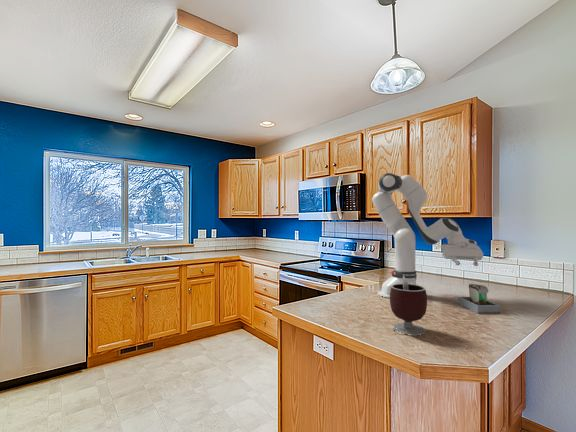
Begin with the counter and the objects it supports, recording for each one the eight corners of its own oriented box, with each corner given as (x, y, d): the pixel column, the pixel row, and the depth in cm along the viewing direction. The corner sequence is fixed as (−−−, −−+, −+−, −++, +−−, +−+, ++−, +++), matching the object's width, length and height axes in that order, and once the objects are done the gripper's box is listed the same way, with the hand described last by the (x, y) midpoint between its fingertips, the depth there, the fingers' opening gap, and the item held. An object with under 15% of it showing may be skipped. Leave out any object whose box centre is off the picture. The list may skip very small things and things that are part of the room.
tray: (477, 313, 143) (477, 305, 144) (458, 303, 160) (458, 296, 160) (500, 313, 143) (500, 305, 144) (478, 303, 160) (478, 296, 160)
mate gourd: (432, 337, 115) (431, 284, 115) (393, 335, 117) (392, 283, 117) (421, 323, 130) (420, 276, 130) (387, 322, 133) (386, 275, 133)
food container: (493, 310, 146) (493, 289, 146) (479, 310, 147) (479, 289, 147) (481, 303, 158) (481, 283, 158) (468, 303, 159) (468, 283, 159)
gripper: (441, 240, 170) (449, 260, 160) (479, 241, 169) (489, 262, 159) (437, 247, 174) (445, 267, 164) (473, 248, 174) (483, 269, 164)
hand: (467, 264), depth 162 cm, fingers open, 8 cm apart
